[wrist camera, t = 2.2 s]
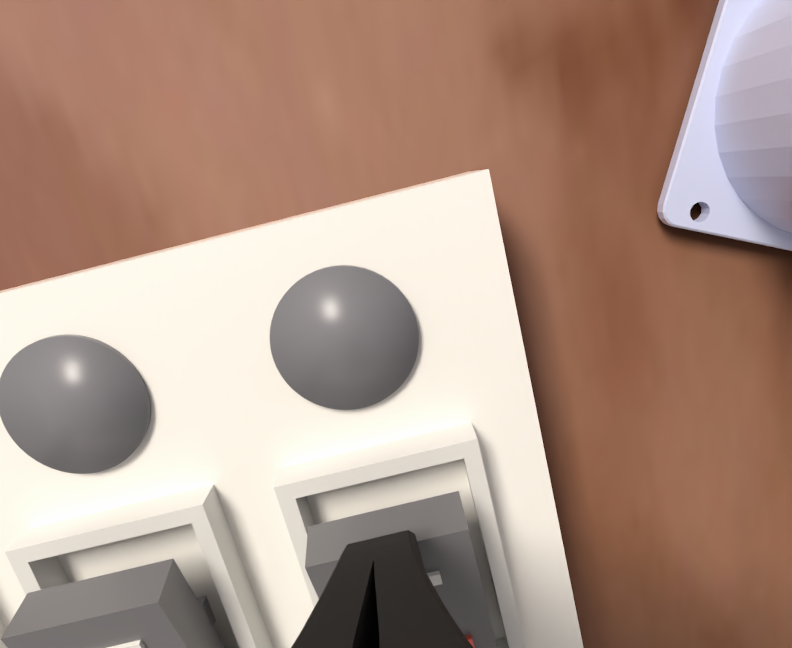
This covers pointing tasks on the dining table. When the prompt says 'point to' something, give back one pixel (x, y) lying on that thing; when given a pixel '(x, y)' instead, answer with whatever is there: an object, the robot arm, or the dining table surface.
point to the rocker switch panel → (280, 411)
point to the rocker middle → (115, 613)
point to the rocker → (439, 547)
